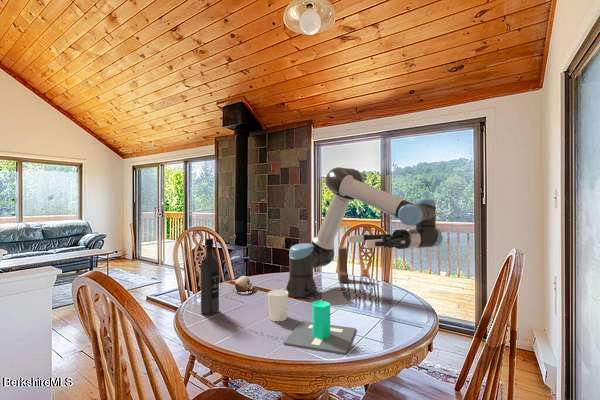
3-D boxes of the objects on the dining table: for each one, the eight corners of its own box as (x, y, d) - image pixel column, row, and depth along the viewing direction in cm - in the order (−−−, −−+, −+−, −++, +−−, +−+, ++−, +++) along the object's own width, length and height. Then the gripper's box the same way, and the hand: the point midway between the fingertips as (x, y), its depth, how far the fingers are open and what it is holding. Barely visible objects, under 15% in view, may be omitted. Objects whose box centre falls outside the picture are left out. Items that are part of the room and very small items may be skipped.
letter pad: (283, 344, 97) (283, 342, 97) (301, 322, 114) (301, 320, 114) (346, 354, 91) (346, 352, 91) (355, 329, 108) (355, 327, 108)
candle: (311, 331, 105) (311, 296, 105) (328, 330, 106) (328, 295, 106) (313, 339, 99) (313, 302, 99) (332, 338, 100) (331, 301, 100)
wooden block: (348, 283, 167) (348, 250, 167) (340, 283, 167) (339, 250, 167) (346, 278, 176) (346, 247, 176) (338, 278, 176) (338, 247, 176)
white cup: (272, 324, 113) (272, 297, 113) (265, 316, 120) (264, 291, 120) (292, 320, 117) (291, 293, 117) (283, 313, 124) (283, 288, 124)
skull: (245, 284, 163) (253, 271, 159) (254, 300, 158) (263, 287, 154) (226, 288, 154) (235, 275, 150) (235, 305, 149) (244, 292, 145)
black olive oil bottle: (220, 311, 127) (219, 238, 126) (210, 315, 122) (209, 240, 121) (210, 308, 129) (209, 237, 129) (199, 313, 124) (199, 239, 124)
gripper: (427, 253, 109) (374, 257, 103) (387, 244, 133) (342, 246, 126) (427, 232, 109) (374, 235, 102) (387, 226, 133) (342, 228, 126)
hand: (356, 241), depth 114 cm, fingers open, 13 cm apart
